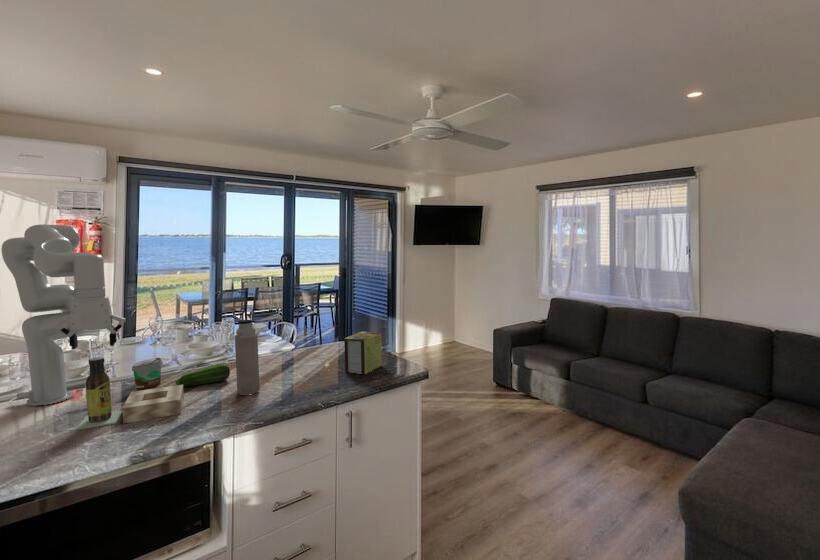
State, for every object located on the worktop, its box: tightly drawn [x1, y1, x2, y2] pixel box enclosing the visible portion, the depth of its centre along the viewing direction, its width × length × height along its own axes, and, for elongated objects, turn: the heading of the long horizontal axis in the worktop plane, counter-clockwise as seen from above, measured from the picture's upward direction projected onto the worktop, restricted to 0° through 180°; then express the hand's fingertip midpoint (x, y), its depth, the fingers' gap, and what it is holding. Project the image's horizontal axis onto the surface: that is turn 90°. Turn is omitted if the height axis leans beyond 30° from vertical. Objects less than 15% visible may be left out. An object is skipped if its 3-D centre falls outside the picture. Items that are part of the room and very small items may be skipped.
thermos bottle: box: [234, 319, 261, 396], centre depth 154 cm, size 8×8×28 cm
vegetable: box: [174, 363, 231, 388], centre depth 164 cm, size 7×7×20 cm
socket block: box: [121, 384, 185, 424], centre depth 139 cm, size 16×16×5 cm
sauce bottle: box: [85, 356, 113, 422], centre depth 130 cm, size 6×6×20 cm
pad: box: [76, 410, 123, 431], centre depth 131 cm, size 10×10×1 cm
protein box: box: [343, 331, 382, 375], centre depth 182 cm, size 10×15×16 cm
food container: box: [131, 357, 164, 391], centre depth 162 cm, size 12×6×10 cm, turn 168°
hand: (94, 346), depth 129 cm, fingers open, 9 cm apart
